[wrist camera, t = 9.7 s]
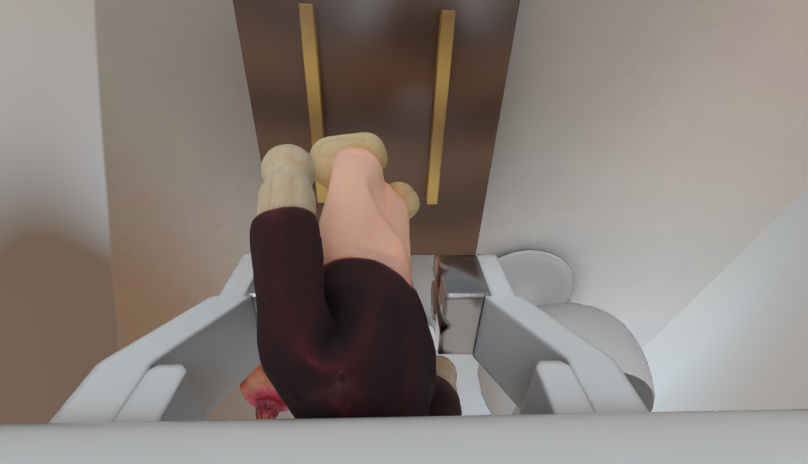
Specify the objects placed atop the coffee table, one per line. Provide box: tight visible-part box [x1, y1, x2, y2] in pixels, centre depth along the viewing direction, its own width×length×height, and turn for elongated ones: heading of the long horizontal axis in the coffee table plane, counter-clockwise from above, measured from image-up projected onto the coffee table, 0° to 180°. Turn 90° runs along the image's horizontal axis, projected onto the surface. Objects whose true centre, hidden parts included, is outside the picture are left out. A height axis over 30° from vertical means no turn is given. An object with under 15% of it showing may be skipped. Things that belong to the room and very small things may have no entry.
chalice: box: [478, 250, 655, 415], centre depth 35 cm, size 14×14×15 cm
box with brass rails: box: [233, 0, 520, 255], centre depth 26 cm, size 22×16×8 cm
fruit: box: [240, 364, 289, 419], centre depth 39 cm, size 8×8×10 cm
